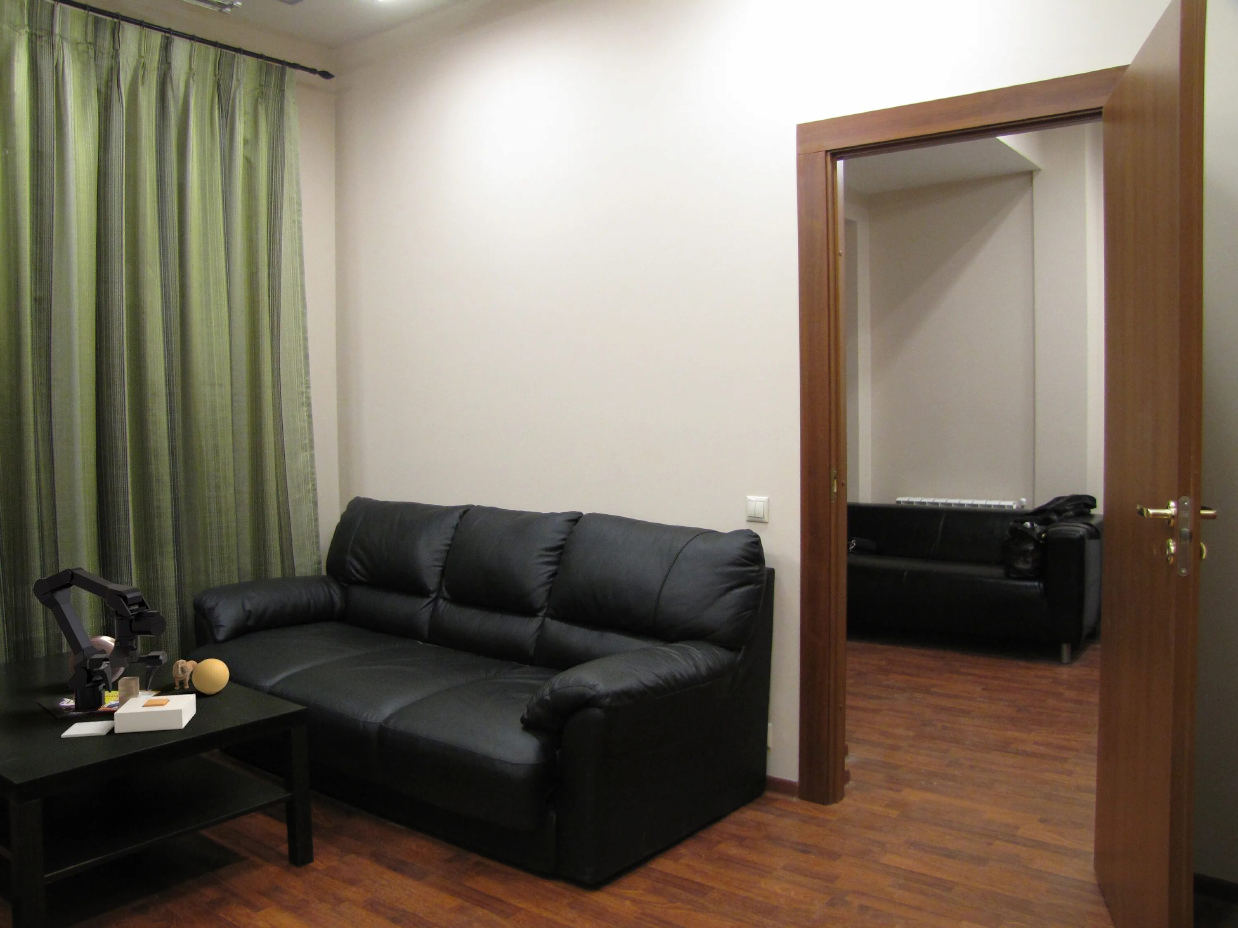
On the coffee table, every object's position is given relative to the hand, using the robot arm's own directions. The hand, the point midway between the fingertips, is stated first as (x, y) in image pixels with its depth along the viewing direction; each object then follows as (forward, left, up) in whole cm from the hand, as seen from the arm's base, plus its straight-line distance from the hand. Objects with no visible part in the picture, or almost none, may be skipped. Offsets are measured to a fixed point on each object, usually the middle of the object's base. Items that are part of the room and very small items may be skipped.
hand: (128, 691), depth 257 cm
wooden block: (0, 0, -6) cm, 6 cm away
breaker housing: (+10, -12, -6) cm, 17 cm away
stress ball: (+18, +14, -6) cm, 24 cm away
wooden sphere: (-17, +30, -6) cm, 35 cm away
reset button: (+10, -12, -3) cm, 16 cm away
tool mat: (-5, -15, -6) cm, 17 cm away
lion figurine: (+9, +24, -6) cm, 27 cm away
